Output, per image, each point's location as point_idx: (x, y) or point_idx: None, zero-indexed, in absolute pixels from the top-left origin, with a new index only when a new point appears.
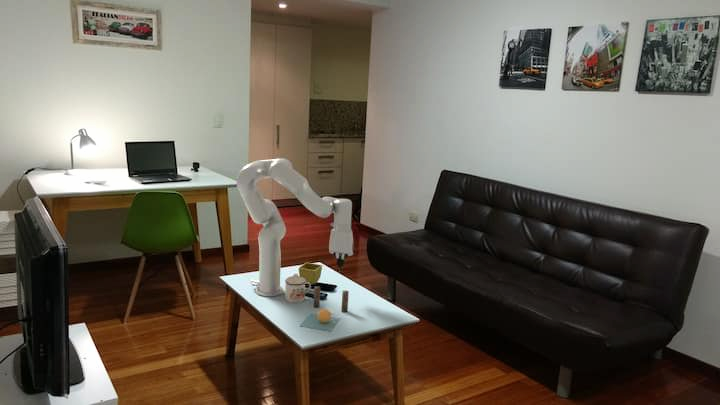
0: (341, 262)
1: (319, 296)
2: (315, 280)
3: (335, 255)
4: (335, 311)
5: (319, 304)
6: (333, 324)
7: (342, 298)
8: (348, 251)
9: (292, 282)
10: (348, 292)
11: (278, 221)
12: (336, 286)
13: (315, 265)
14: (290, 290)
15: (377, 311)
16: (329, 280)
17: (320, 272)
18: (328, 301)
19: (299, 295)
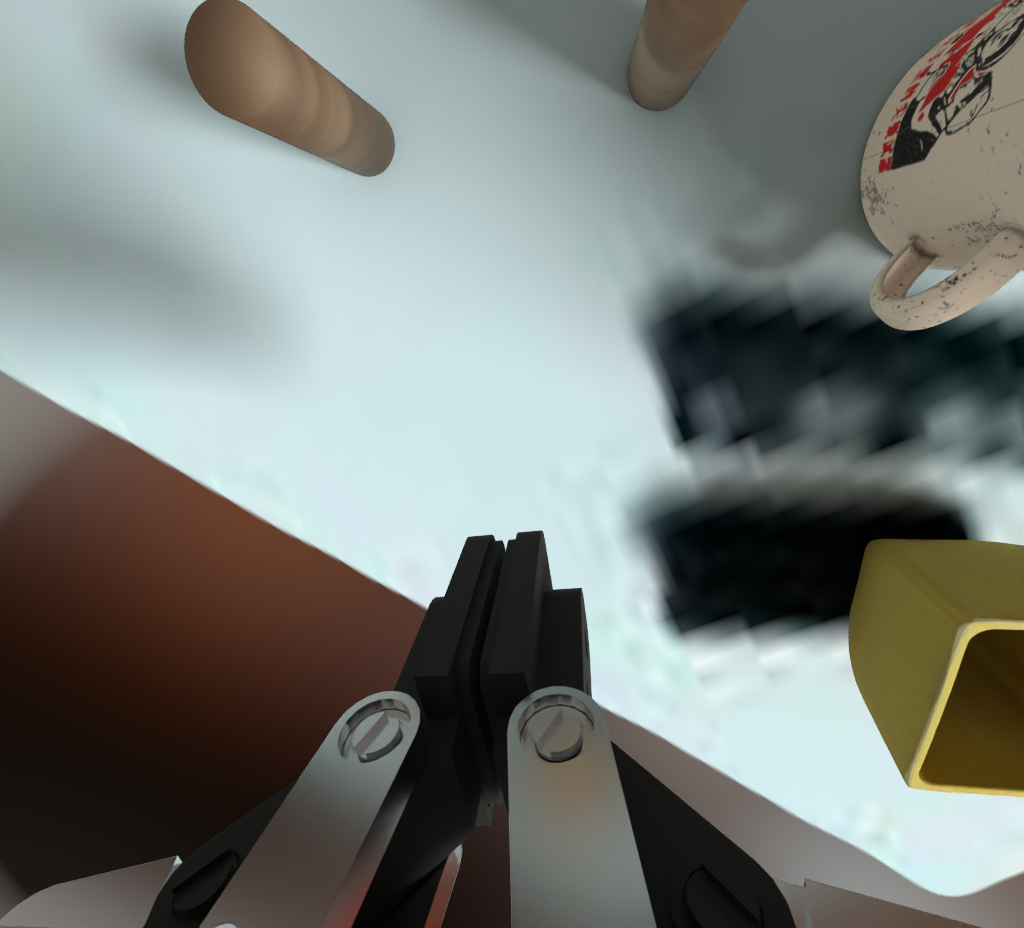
0: (442, 615)
1: (647, 1)
2: (874, 580)
3: (659, 807)
4: (437, 84)
5: (632, 65)
6: None
7: (308, 55)
8: None
9: None
10: (199, 82)
11: None
12: (665, 615)
13: (991, 774)
14: None
15: (158, 311)
16: (760, 692)
17: (874, 697)
18: (604, 293)
19: (965, 41)
